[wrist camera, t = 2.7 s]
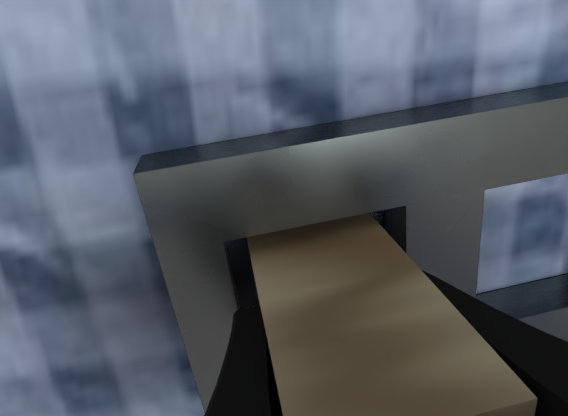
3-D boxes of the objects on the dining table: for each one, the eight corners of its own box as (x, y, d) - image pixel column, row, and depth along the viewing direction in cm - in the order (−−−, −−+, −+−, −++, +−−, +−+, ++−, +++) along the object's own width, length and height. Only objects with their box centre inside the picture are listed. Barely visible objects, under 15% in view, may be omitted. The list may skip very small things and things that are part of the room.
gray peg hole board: (855, 32, 13) (943, 32, 11) (754, 272, 17) (810, 297, 15) (142, 155, 10) (131, 177, 9) (213, 403, 14) (214, 449, 13)
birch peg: (364, 207, 12) (537, 398, 6) (369, 304, 14) (512, 540, 7) (245, 231, 12) (292, 463, 5) (263, 328, 13) (318, 598, 7)
